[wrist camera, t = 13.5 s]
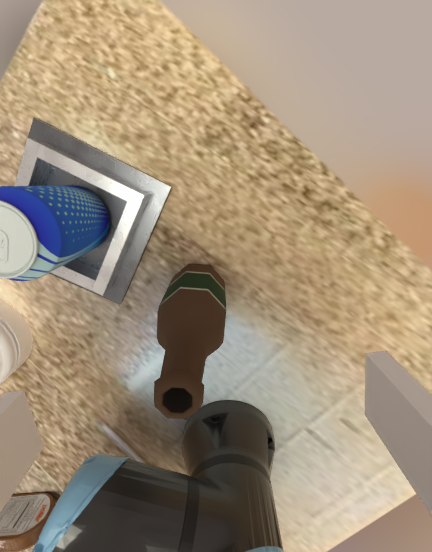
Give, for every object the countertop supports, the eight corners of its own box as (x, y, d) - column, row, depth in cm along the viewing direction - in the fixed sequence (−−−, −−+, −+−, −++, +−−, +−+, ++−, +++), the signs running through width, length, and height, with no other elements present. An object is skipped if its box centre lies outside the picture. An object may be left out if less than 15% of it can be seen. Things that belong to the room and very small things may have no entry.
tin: (-12, 506, 57) (-50, 560, 49) (-18, 494, 56) (-57, 546, 48) (67, 499, 56) (42, 552, 48) (62, 486, 55) (36, 538, 47)
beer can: (34, 213, 40) (-80, 232, 25) (79, 171, 38) (-12, 163, 23) (81, 262, 42) (2, 308, 26) (125, 223, 40) (69, 248, 25)
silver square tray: (122, 302, 45) (111, 314, 40) (0, 248, 42) (-24, 255, 38) (172, 186, 40) (166, 187, 35) (38, 119, 38) (15, 111, 33)
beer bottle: (163, 270, 43) (101, 370, 20) (215, 254, 42) (213, 337, 19) (182, 318, 45) (145, 458, 22) (232, 303, 45) (247, 431, 22)
